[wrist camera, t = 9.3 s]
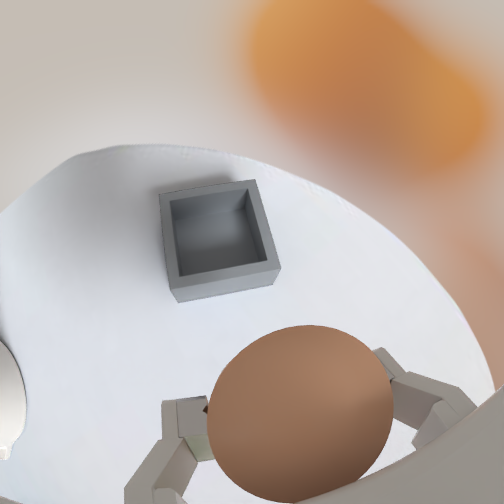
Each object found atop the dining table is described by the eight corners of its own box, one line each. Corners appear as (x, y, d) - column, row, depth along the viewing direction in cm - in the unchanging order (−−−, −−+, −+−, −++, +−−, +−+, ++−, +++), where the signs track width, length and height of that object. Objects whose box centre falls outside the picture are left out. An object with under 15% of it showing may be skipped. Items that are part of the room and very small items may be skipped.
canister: (226, 452, 12) (233, 521, 5) (204, 359, 14) (187, 347, 7) (322, 427, 13) (404, 461, 6) (301, 338, 14) (370, 305, 8)
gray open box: (178, 302, 29) (169, 289, 25) (166, 218, 33) (158, 194, 28) (272, 284, 31) (281, 268, 26) (250, 204, 34) (255, 179, 30)
